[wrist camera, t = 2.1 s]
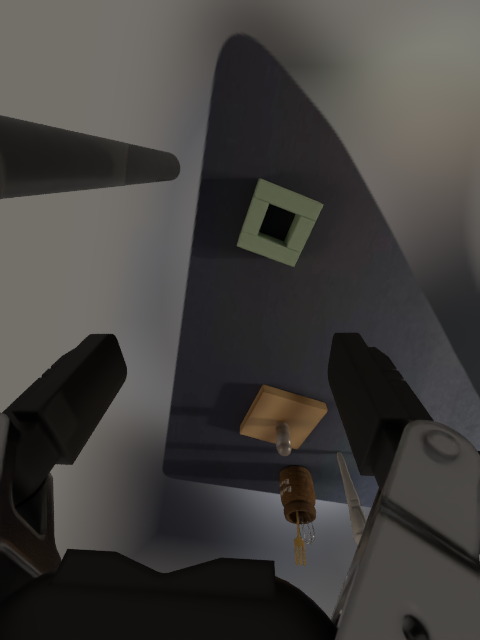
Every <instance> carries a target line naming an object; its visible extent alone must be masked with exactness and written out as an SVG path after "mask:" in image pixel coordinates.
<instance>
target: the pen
mask: <svg viewBox="0 0 480 640" xmlns="http://www.w3.org/2000/svg"><path fill="white" fill-rule="evenodd" d="M337 459H338V463H339V467H340V471H341V475H342V479H343V484H344V488H345V493H346V498H347V504H348V506H349V512H350V519H351V525H352V530H353V534H354V540H355V542H356V543H357V544H359V541H360V538H361V536H362V533H363V530H364V527H365V525H366V522H367V519H366V517H365V514H364V512H363V510H362V508H361V506H360V502H359V498H358V496H357V493H356V491H355V488H354V486H353V483H352V481H351V478H350V475H349V472H348V470H347V467H346V464H345V461H344V458H343V455H342V453H341V452H337Z"/></svg>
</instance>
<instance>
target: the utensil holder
mask: <svg viewBox="0 0 480 640" xmlns="http://www.w3.org/2000/svg"><path fill="white" fill-rule="evenodd" d="M279 482H280V495H281V502H282V504H283V506H284V515H285V518H286V520H287V521H289V522H291V523H295V524H297V532H298V536H297V538H295V539H294V544H295V559H296V565H298V559H297V546H298V547H299V561H300V565H302V560H301V546H302V550H303V563H304V566H305V565H306V562H305V549H304V540H303V539H302V537H300V528H299V524H308V523H310V522H312V521H314V520H315V518H316V510H315V507H314V506H315V493H314V487H313V482H312V477H311V474H310V472H309V471H308V470H307V469H306V468H304V467H301V466H289V467H286V468H284V469H283V470H282V471H281V472H280V475H279ZM305 538H306V537H305ZM311 542H312V541H311ZM306 543H307V544H308V543H309V544H310V542H306Z"/></svg>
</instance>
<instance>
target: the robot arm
mask: <svg viewBox="0 0 480 640" xmlns="http://www.w3.org/2000/svg"><path fill="white" fill-rule="evenodd" d="M396 369H397V368H396V367H395V365H394V364H393V363H392V361H391V360H390V358H389V357H388V356H387V355H385V354H384V353H382V352H381V351H380V350H378V349H377V348H376V347H368V346H367V345H366V343H365V342H364V340H363V339H362V337H361V335H360V334H359V333H335V334H334V336H333V340H332V346H331V352H330V358H329V364H328V380H329V385H330V388H331V390H332V393H333V396H334V399H335V402H336V405H337V408H338V411H339V414H340V417H341V420H342V423H343V426H344V428H345V431H346V434H347V437H348V440H349V443H350V446H351V449H352V452H353V455H354V458H355V461H356V464H357V467H358V469H359V472H360V475H365V476H375V478H376V481H377V483H378V486H379V489H378V491H377V494H376V497H375V499H374V502H373V505H372V508H371V511H370V513H369V516H368V519H367V522H366V525H365V527H364V530H363V533H362V536H361V538H360V541H359V544H358V547H357V550H356V553H355V555H354V558H353V561H352V563H351V566H350V568H349V571H348V573H347V576H346V579H345V581H344V584H343V586H342V589H341V592H340V595H339V598H338V600H337V603H336V606H335V608H334V611H333V614H332V617H331V620H330V618H329V617H328V616H327V615H326V613H325V612H324V611H323V610H322V609H321V608H320V607H319V606H318V605H317V604H316V603H315V602H314V601H313V600H312V599H311V598H309V597H308V596H307V595H306V594H305V593H303V592H302V591H301V590H300V589H298V588H297V587H295V586H293V585H292V584H290V583H289V582H287V581H285V580H283V579H280V578H278V577H276V576H275V567H274V561H269V560H252V559H234V558H218V559H215V560H212V561H208V562H205V563H201V564H198V565H195V566H191V567H187V568H184V569H180V570H177V571H173V572H170V573H160V572H157V571H155V570H153V569H151V568H149V567H147V566H145V565H143V564H140V563H138V562H136V561H134V560H132V559H130V558H128V557H126V556H124V555H121V554H120V553H118V552H112V551H95V550H77V549H67V551H66V553H65V555H64V557H63V559H62V561H61V558H60V555H59V553H58V551H57V548H56V545H55V538H54V501H53V477H52V475H51V473H50V471H51V469H52V468H53V467H54V465H55V464H65V465H72V464H73V463H74V461H75V460H76V458H77V457H78V455H79V454H80V452H81V450H82V449H83V447H84V446H85V444H86V442H87V441H88V439H89V438H90V436H91V434H92V433H93V431H94V430H95V428H96V426H97V425H98V423H99V421H100V420H101V419H102V417H103V415H104V414H105V412H106V411H107V409H108V407H109V406H110V404H111V403H112V401H113V399H114V398H115V396H116V395H117V393H118V392H119V390H120V388H121V387H122V385H123V383H124V382H125V379H126V376H127V367H126V364H125V361H124V358H123V355H122V352H121V349H120V346H119V343H118V340H117V338H116V337H115V335H113V334H90V335H89V336H88V337H86V338H85V339H84V340H83V341H82V342H81V343H80V344H79V345H78V346H77V347H76V348H75V349H73V350H71V351H70V352H68V353H66V354H65V355H63V356H62V357H61V358H59V359H58V360H57V361H56V362H55V363H54V364H53V365H52V366H51V369H48V370H47V371H46V372H45V373H44V374H42V377H41V378H38V379H37V380H36V381H35V382H34V383H33V384H32V385H31V386H30V387H29V388H28V389H27V390H26V391H24V392H23V393H22V394H21V395H20V396H19V397H18V398H17V399H16V400H15V401H14V402H13V403H12V404H11V405H10V406H9V407H8V408H7V409H6V410H4V411H3V412H2V413H0V640H480V561H479V554H480V451H477V450H476V449H475V447H474V446H473V445H472V444H471V443H470V442H469V441H468V440H467V439H466V438H465V437H464V436H462V435H461V434H460V433H458V432H457V431H455V430H453V429H452V428H450V427H448V426H446V425H443V424H441V423H438V422H434V420H433V419H432V418H431V416H430V415H429V413H428V412H427V410H426V409H425V408H424V406H423V405H422V403H421V402H420V401H419V399H418V398H417V396H416V395H415V394H414V392H413V391H412V389H411V388H410V387H409V385H408V384H407V382H406V381H404V380H403V379H404V378H403V377H402V375H401V374H400V373H399V371H397V370H396Z"/></svg>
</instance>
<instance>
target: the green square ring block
mask: <svg viewBox="0 0 480 640" xmlns="http://www.w3.org/2000/svg"><path fill="white" fill-rule="evenodd" d="M269 203H270V204H272V205H275V206H277V207H280V208H282V209H285V210H287V211H290V212H292V213H295V217H294V219H293V221H292V224H291V226H290V228H289V231H288V233H287V235H286V238H285V240H284V241H282V240H279V239H276V238H274V237H271V236H268V235H266V234H263V233H260V232H259V229H260V227H261V224H262V221H263V219H264V216H265V213H266V211H267V208H268V205H269ZM322 207H323V204H321V203H319V202H317V201H315V200H312V199H310V198H308V197H305V196H303V195H300V194H298V193H295V192H293V191H290V190H288V189H285V188H283V187H280V186H278V185H276V184H273V183H271V182H268V181H266V180H263V179H261V178H259V180H258V183H257V186H256V189H255V192H254V195H253V198H252V201H251V203H250V206H249V209H248V212H247V215H246V218H245V221H244V224H243V227H242V230H241V233H240V236H239V239H238V243H237V246H238V247H240V248H243V249H246V250H249V251H251V252H254V253H257V254H260V255H262V256H265V257H268V258H271V259H273V260H276V261H279V262H281V263H284V264H287V265H290V266H292V267H294V266H295V264H296V262H297V260H298V257H299V255H300V252H301V251H302V249H303V247H304V245H305V243H306V241H307V239H308V236H309V234H310V232H311V230H312V228H313V226H314V224H315V221H316V220H317V217H318V215H319V213H320V211H321V209H322Z"/></svg>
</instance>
